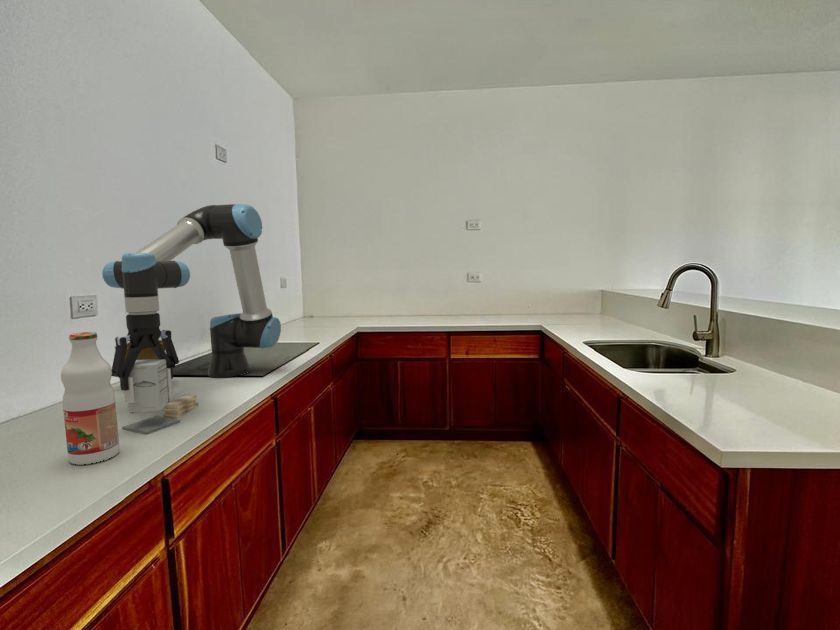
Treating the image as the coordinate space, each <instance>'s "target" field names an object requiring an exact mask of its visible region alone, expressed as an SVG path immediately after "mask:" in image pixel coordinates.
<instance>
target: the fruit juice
mask: <svg viewBox="0 0 840 630" xmlns="http://www.w3.org/2000/svg"><path fill="white" fill-rule="evenodd" d="M68 341H69V343H71V350H70V354H69V355H70V356H69V358H68V360H67V362H66V364H64V366H63V367H62V369H61V372H60V381H61V382H62V385H63V387H64V393H63V395H62V409H63V418H64V420H63V421H64V428H65V438H66V439H65V440H66V449H67V457H68V461H69V462H70V464H73V465H75V464H76V466H77V465H79V466H80V465H81V466H82V465H84V464H86V465H92V464H91V463H93V464H96V462H97V463H101V462H104V461H107V460H110V459H111V457H112V458H114V457H115V456H117V455H118V454H119V451H120V438H119V426H118V425H119V424H118V416H117V415H118V414H117V403H116V396H115V395H116V394H115V390H114V388H113V386H112V384H111V380H112V377H113V376H112V366H111V364H110V363H109V362H108V361H107V360H106V359H105V358H103V356H102V355H101V353H100V351H99V349H98V346H97V341H98V334H97V332H96V331H85V332H83V331H82V332H75V333H70V334H69V336H68ZM109 458H110V459H109ZM103 460H104V461H103ZM100 461H101V462H100Z"/></svg>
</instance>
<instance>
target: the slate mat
mask: <svg viewBox="0 0 840 630" xmlns="http://www.w3.org/2000/svg"><path fill="white" fill-rule="evenodd" d="M179 423H181V419H178V418H177V419H172V418H167V417H163V416H162V415H161V416H160V415H154V416H151V417H148V418H145V419H141V420H139V421H135V422H132V423H129V424H125V425H123V426H121V428H122V430H125V431H129V432H134V433H140V434H143V435H149V434H151V433H154V432H157V431H160V430H162V429H163V430H164V429H165V428H168V427H171V426H173V425H176V424H179Z"/></svg>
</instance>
